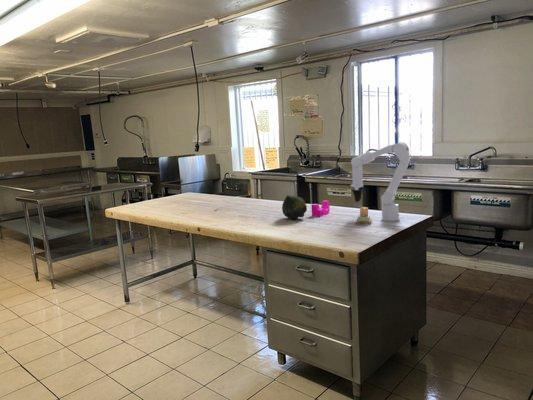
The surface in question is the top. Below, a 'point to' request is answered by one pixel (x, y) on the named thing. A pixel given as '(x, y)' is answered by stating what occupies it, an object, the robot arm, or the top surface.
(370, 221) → the tower base
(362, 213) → the terracotta cylinder
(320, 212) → the toy block
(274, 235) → the top surface
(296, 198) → the squash
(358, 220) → the tower top
